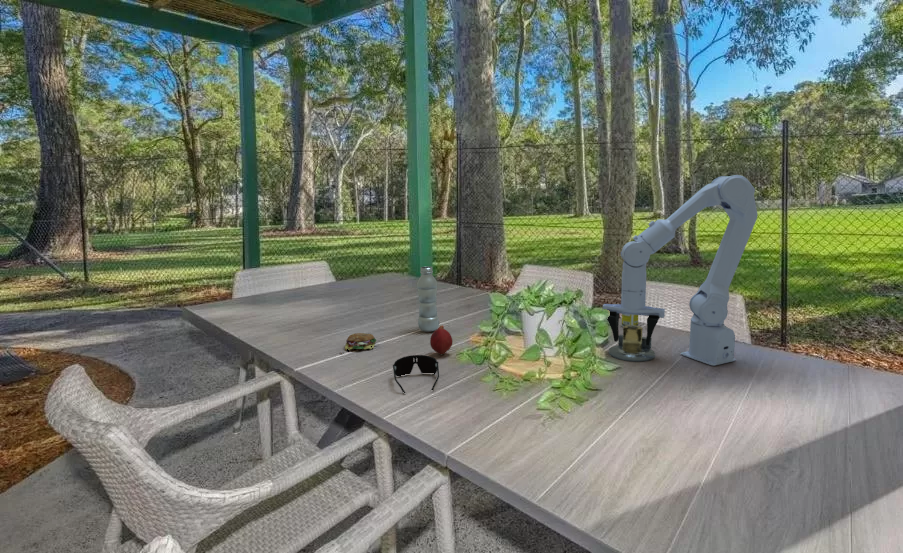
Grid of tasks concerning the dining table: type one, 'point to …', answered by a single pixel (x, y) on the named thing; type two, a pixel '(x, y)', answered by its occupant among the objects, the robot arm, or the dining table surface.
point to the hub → (632, 338)
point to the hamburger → (360, 341)
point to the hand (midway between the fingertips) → (631, 342)
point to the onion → (441, 340)
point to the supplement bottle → (629, 319)
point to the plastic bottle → (427, 300)
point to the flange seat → (634, 357)
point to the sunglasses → (407, 363)
